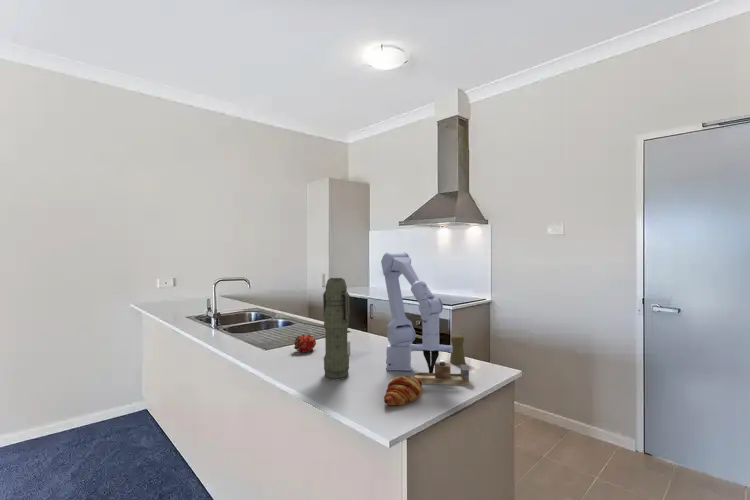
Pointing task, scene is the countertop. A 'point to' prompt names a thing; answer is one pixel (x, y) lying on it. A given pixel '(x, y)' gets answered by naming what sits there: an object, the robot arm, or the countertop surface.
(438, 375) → the carriage
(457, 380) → the rail
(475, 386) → the countertop surface
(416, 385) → the croissant
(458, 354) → the cork
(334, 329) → the thermos
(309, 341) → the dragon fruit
